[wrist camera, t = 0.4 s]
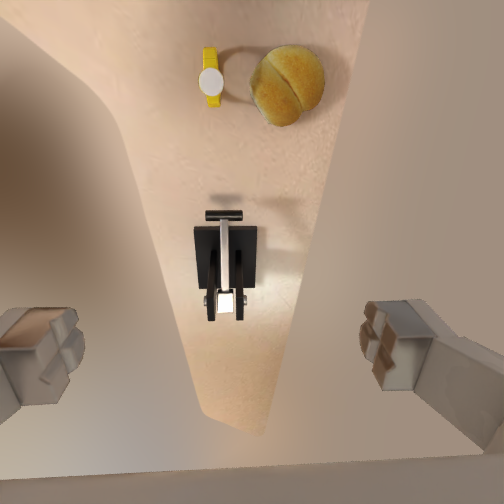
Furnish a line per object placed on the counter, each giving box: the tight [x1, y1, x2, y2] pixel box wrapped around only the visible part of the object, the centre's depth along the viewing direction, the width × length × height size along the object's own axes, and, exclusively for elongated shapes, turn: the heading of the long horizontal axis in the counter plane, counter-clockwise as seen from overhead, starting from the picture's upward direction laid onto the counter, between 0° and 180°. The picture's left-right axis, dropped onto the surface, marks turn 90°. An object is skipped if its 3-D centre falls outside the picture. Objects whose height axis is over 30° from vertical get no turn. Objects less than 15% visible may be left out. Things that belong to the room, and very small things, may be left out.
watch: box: [198, 47, 224, 107], centre depth 35 cm, size 6×3×6 cm, turn 2°
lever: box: [205, 210, 243, 313], centre depth 43 cm, size 14×5×2 cm, turn 0°
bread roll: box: [249, 45, 325, 127], centre depth 37 cm, size 8×9×4 cm
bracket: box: [194, 226, 257, 321], centre depth 48 cm, size 12×10×13 cm
